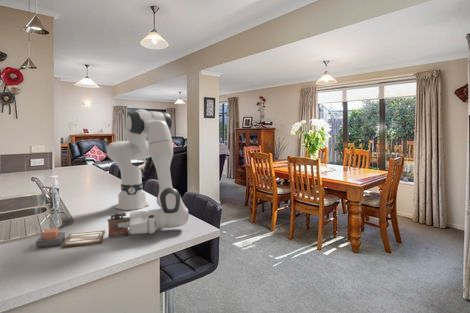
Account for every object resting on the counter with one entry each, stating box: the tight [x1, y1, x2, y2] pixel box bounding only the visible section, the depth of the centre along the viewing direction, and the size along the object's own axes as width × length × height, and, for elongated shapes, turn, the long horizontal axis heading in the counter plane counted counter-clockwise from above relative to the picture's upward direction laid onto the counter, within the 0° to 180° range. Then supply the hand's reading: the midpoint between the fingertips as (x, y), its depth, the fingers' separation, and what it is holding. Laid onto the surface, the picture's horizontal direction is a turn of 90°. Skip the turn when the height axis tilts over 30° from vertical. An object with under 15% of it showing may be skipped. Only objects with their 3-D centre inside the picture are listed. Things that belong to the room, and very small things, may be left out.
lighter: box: [107, 212, 129, 238], centre depth 121 cm, size 8×3×10 cm, turn 105°
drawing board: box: [61, 230, 106, 249], centre depth 117 cm, size 13×14×1 cm
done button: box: [42, 227, 60, 239], centre depth 113 cm, size 4×4×3 cm
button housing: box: [35, 231, 66, 250], centre depth 113 cm, size 8×8×3 cm
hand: (118, 223), depth 121 cm, fingers closed on lighter, 3 cm apart
